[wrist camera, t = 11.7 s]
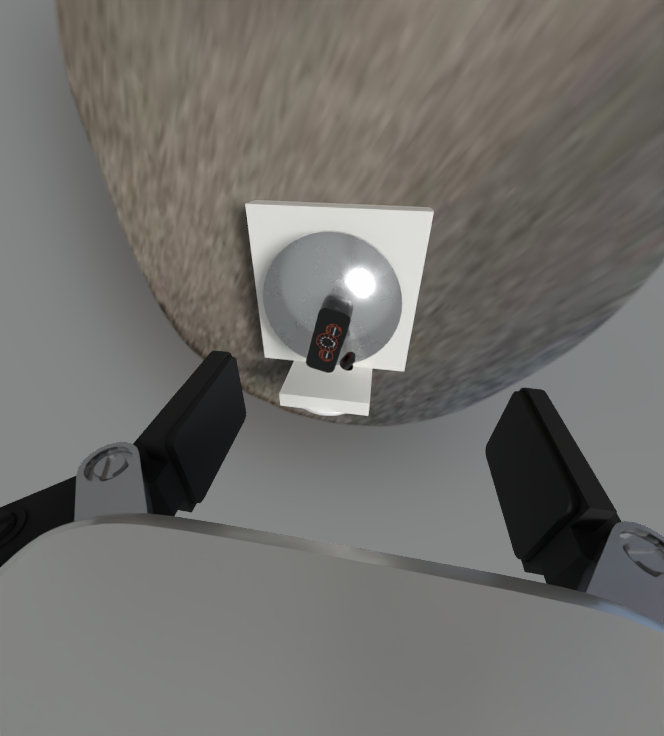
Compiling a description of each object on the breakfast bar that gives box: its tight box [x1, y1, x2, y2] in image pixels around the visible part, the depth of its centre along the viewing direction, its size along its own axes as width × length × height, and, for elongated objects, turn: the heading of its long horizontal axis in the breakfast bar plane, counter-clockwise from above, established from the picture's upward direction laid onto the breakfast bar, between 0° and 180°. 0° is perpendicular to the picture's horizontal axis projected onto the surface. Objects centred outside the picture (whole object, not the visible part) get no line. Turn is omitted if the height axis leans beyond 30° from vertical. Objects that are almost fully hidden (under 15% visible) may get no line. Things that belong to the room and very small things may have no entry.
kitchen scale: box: [245, 200, 434, 416], centre depth 30 cm, size 18×16×9 cm
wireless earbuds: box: [306, 295, 356, 373], centre depth 29 cm, size 5×7×3 cm, turn 165°
